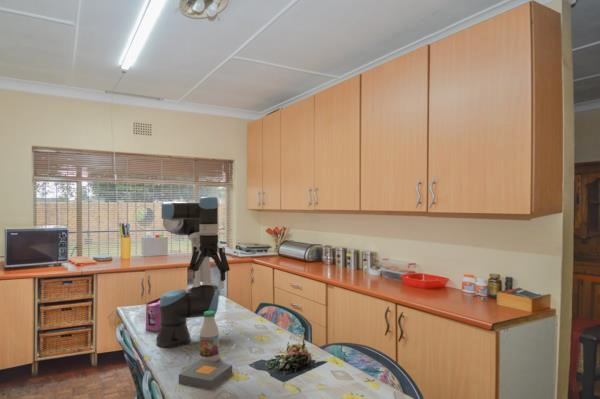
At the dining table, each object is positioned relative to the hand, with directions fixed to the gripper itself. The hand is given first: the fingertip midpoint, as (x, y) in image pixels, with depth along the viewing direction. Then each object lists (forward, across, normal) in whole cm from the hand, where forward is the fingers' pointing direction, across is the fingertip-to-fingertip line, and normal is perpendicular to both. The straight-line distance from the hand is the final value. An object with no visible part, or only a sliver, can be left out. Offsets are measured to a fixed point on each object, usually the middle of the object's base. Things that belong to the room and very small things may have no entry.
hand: (209, 287), depth 165 cm
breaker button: (+29, +8, -14) cm, 34 cm away
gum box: (+30, -50, +32) cm, 67 cm away
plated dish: (+31, +32, +11) cm, 46 cm away
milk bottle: (+30, 0, 0) cm, 30 cm away
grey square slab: (+30, +8, -14) cm, 34 cm away
